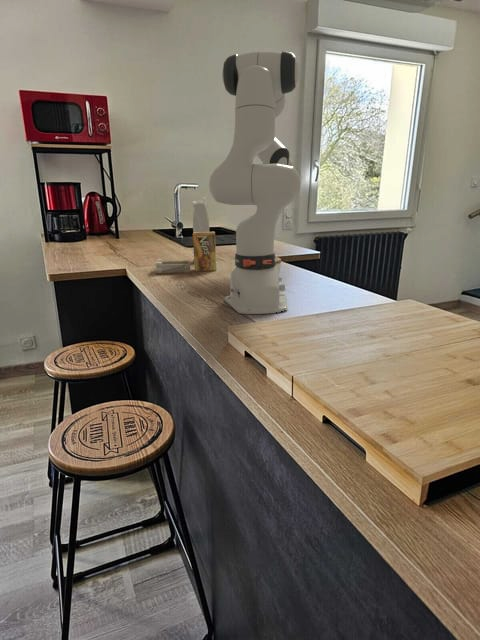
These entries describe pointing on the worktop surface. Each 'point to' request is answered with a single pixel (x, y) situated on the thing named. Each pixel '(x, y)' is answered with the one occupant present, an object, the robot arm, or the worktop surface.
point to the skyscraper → (200, 217)
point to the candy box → (204, 251)
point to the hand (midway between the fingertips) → (225, 194)
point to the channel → (172, 267)
